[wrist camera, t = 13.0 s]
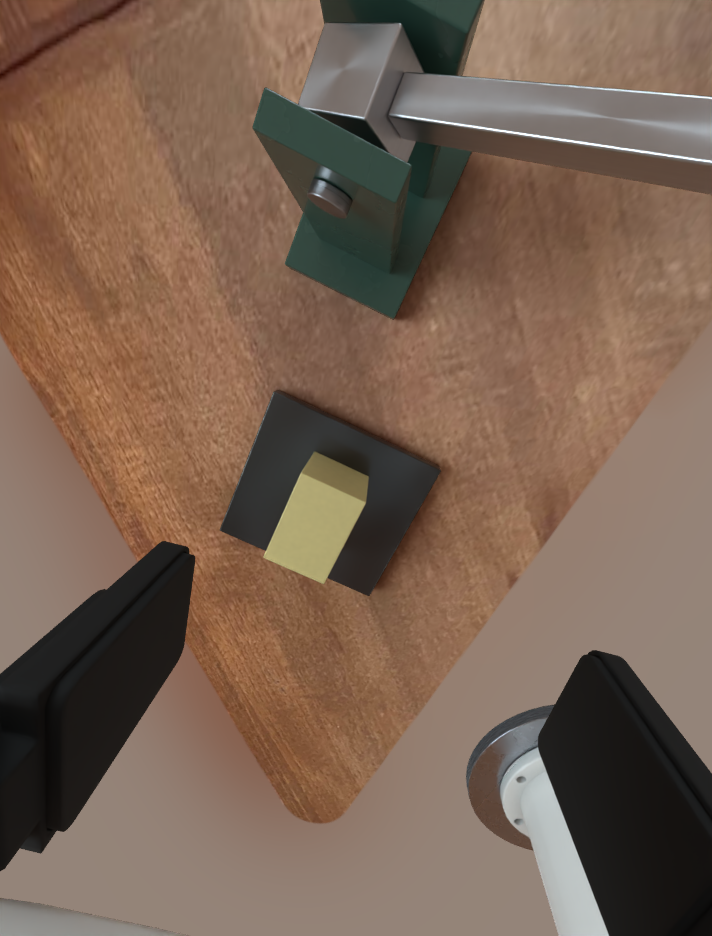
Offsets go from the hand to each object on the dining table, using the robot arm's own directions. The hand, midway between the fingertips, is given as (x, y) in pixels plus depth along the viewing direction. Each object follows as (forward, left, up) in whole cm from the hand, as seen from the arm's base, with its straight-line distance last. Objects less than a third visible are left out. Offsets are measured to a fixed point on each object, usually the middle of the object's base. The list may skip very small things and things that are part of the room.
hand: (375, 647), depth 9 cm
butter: (+2, +5, -17) cm, 18 cm away
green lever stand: (+6, -12, -18) cm, 23 cm away
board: (+2, +5, -18) cm, 19 cm away
